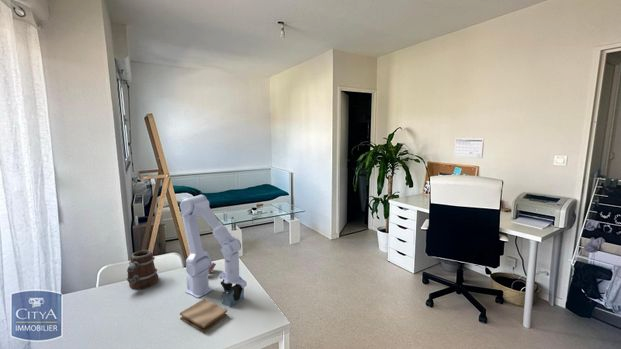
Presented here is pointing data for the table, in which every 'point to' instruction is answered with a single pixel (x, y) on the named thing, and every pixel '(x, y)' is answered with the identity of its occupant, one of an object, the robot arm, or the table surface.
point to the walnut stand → (203, 315)
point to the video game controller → (211, 267)
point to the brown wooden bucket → (142, 270)
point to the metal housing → (230, 297)
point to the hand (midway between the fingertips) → (233, 297)
